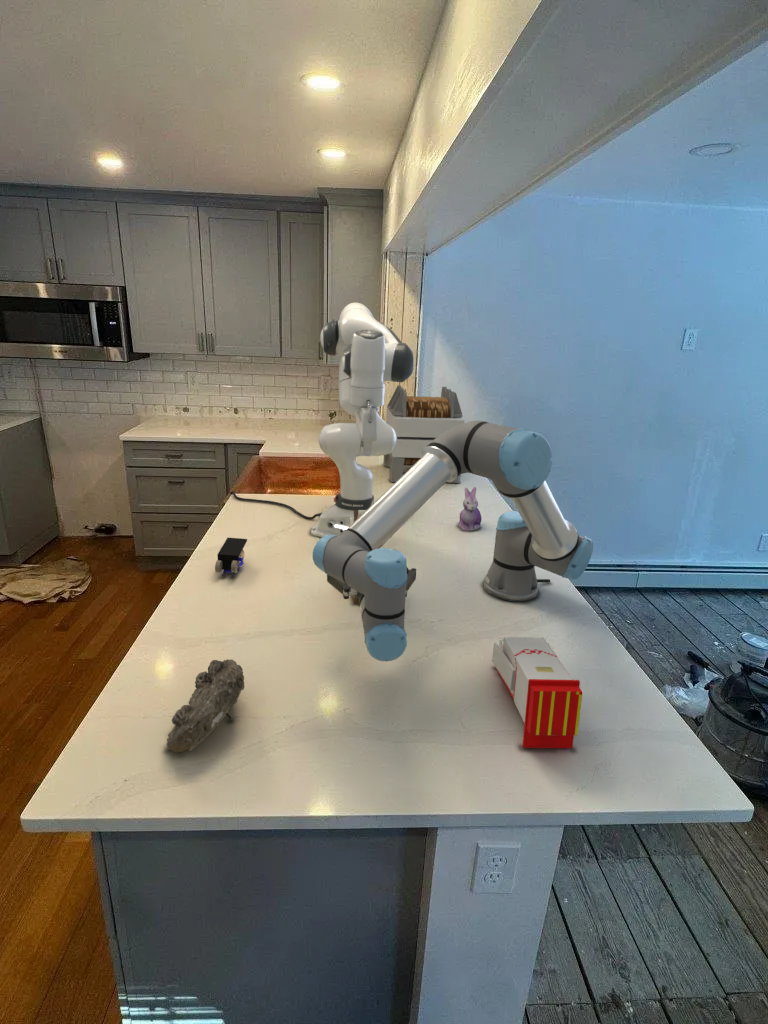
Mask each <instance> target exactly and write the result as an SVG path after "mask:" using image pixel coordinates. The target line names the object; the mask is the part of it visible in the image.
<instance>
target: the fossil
mask: <svg viewBox="0 0 768 1024" xmlns="http://www.w3.org/2000/svg"><path fill="white" fill-rule="evenodd" d="M243 670H244V669H243V667H242V665H240V664H237V662H236V661H235V660H234V659H232V658H231V659H227V658H226V659H224V660H223V661H222V660H217V659H212V660H211V661H210V663H209V665H208V666H207V671H201V672H199V673H198V674H197V675H196V676H195V680H194V684H195V685H194V687H195V689H194V690H193V693H192V694H191V697H190V698H189V700H188V704H184V705H182V706H181V707H180V709H177V710H176V711H175V713H174V715H173V716H172V718H171V723H172V724H173V727H172V730H171V731H170V732H168V734H167V738H166V741H167V742H166V745H167V749H168V750H169V751H173V752H174V753H176V754H178V753H182V752H188V751H189V752H192V751H193V750H195V748H196V747H197V746H199V744H200V743H201V742H203V741H204V740H205V739H206V738H207V737H208V736H209V735H210V734H211V733H212V732H214V730H215V729H217V727H218V726H219V724H220V722H221V721H222V720H223V719H224V718H225V716H226V717H227V719H229V720H233V717H232V715H230V714H229V710H230V709H231V708H234V706H235V704H236V703H237V702H238V699H239V697H240V695H241V693H242V691H243V690H245V689H244V688H245V675H244V671H243Z"/></svg>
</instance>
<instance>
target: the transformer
mask: <svg viewBox="0 0 768 1024" xmlns="http://www.w3.org/2000/svg"><path fill="white" fill-rule="evenodd" d="M440 393H441V394H440V396H415V395H414V396H413V395H412V396H411V395H407V394H408V393H407V390H406V389H404V388H403V387H402V385H399V384H398V385H397V386H396V388H395V390H394V392H393V394H392V395H391V398H390V400H389V402H388V404H387V405H386V413H385V414H386V415H385V422H386V423H387V424H389V425H390V426H391V427H392V428H393V429H394V431H395V433H396V436H397V443H396V446H395V448H394V450H393V451H392V452H391V453H390V454H386V455H383V466H384V467H388V468H389V475H388V476H389V477H388V478H389V480H390V482H391V483H395V482H397V481H398V480H399V479H400V478H401V477H402V476H403V475H404V469H405V466H406V467H407V466H411V467H412V466H413V465H414V464H415V463H416V462H418V461H419V460H420V459H421V458H422V452H423V450H424V448H426V447H427V446H428V445H429V444H430V443H431V442H432V441H433V440H435V439H436V438H437V437H438V436H440V435H441V434H443V433H444V432H446V431H448V430H449V429H451V428H453V427H455V426H457V425H460V424H462V423H465V419H464V418H463V411H462V408H461V405H460V402H459V398H458V395H457V392H455V391H453V390H452V389H451V388H447V386H442V387H441V392H440ZM447 483H449V484H455V483H456V484H459V483H461V474H460V475H459V476H458V477H457V478H456V479H455V480H454V481H451V482H447Z"/></svg>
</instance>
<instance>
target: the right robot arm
mask: <svg viewBox="0 0 768 1024" xmlns="http://www.w3.org/2000/svg"><path fill="white" fill-rule="evenodd" d="M552 457H553V451H552V447H551V445H550V443H549V441H548V440H547V439H546V437H545V436H543V434H541V433H539V432H534V431H532V430H530V429H527V428H518V427H512V426H507V425H502V424H498V423H493V422H487V421H484V420H470V421H466V422H464V423H462V424H460V425H457V426H455V427H453V428H451V429H449V430H448V431H446V432H444V433H443V434H441V435H440V436H438V437H437V438H436V439H435V440H433V441H432V442H431V443H430V444H429V445H428V446H427V447H426V448H424V450H423V452H422V458H421V459H420V460H419V461H418V462H416V463H415V464H414V465H413V466H411V467H410V468H409V469H408V470H407V471H406V472H405V473H403V475H402V477H401V478H400V479H399V480H398V481H397V482H393V484H392V485H391V486H390V487H389V488H388V489H387V490H386V491H385V492H384V493H383V494H382V495H381V496H380V497H379V498H377V499H376V500H375V501H374V503H373V504H372V505H371V506H370V507H369V508H368V509H367V510H366V511H365V512H364V513H363V514H362V515H361V516H360V517H359V518H358V519H357V520H356V521H355V522H354V523H352V524H351V525H350V526H349V527H348V528H347V530H345V531H344V532H343V533H342V534H341V535H340V536H336V535H335V536H334V535H327V536H323V537H320V538H319V539H318V540H317V542H316V543H315V545H314V547H313V549H312V560H313V563H314V565H315V566H316V568H317V569H319V570H320V571H322V572H323V573H325V574H326V582H327V583H328V584H329V585H331V586H332V587H333V588H334V589H335V590H336V591H338V592H339V594H341V595H342V598H343V599H344V600H349V599H350V596H351V597H352V596H353V595H356V596H357V597H358V598H359V603H360V604H359V608H360V615H361V622H362V625H363V627H362V628H363V633H364V635H363V636H364V644H365V646H366V650H367V652H368V654H369V655H370V656H371V657H372V658H373V659H375V660H376V661H379V662H391V661H394V660H397V659H399V658H400V657H401V656H402V655H403V654H404V653H405V652H406V650H407V646H408V640H407V637H408V635H407V632H406V629H405V618H406V598H407V597H408V591H409V590H410V589H411V587H412V586H413V584H414V583H415V581H416V580H417V568H415V567H412V568H411V569H409V568H408V566H407V557H406V556H405V554H403V552H401V551H399V550H397V549H395V548H394V549H390V548H388V547H383V546H384V545H385V544H386V543H387V542H388V541H389V540H390V539H391V538H392V536H394V535H395V534H396V533H397V532H398V531H399V530H400V529H401V528H402V527H403V525H405V524H406V523H407V522H408V521H409V520H410V519H411V518H412V517H413V516H414V515H415V514H416V513H417V512H418V511H419V510H420V509H421V508H422V507H423V506H424V505H425V504H426V503H427V502H428V500H430V499H431V498H432V497H433V496H434V495H435V494H436V493H437V492H438V491H439V490H440V489H441V488H442V487H443V486H444V485H445V484H446V483H448V482H451V481H454V480H455V479H456V478H457V477H458V476H459V475H460V476H461V475H463V474H472V475H476V476H479V477H482V478H486V479H488V480H490V481H491V482H492V483H493V485H494V487H495V489H496V490H497V491H498V492H499V494H500V495H502V496H503V497H506V498H509V499H510V500H511V502H512V504H513V505H514V506H515V509H516V510H512V511H507V512H504V513H502V514H501V515H500V516H499V517H498V519H497V524H496V527H495V539H494V549H493V556H492V557H493V558H492V563H491V564H490V567H489V569H488V570H487V573H486V574H485V577H484V579H483V588H484V590H485V591H486V592H487V593H488V594H490V595H491V596H493V597H494V598H497V599H500V600H504V601H509V602H527V601H531V600H533V599H534V598H536V597H537V596H538V594H539V593H538V592H539V583H547V584H549V583H551V579H549V578H545V579H544V578H537V574H536V567H537V568H539V569H542V570H544V571H547V572H550V573H552V574H554V575H557V576H559V577H561V578H563V579H565V578H566V579H568V580H570V581H574V580H577V579H579V578H580V577H582V575H583V573H584V572H585V571H586V569H587V568H588V565H589V563H590V562H591V558H592V556H593V552H594V542H593V539H591V538H589V537H588V536H586V535H585V536H583V535H581V534H579V533H578V531H577V529H576V527H575V525H574V524H573V523H572V522H571V521H569V520H566V519H565V517H564V516H563V514H562V512H561V509H560V508H559V505H558V503H557V502H556V500H555V498H554V496H553V493H552V490H551V489H550V487H549V485H548V484H547V481H546V480H547V479H548V477H549V475H550V472H551V469H552V464H553V461H552V460H551V459H552Z"/></svg>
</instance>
